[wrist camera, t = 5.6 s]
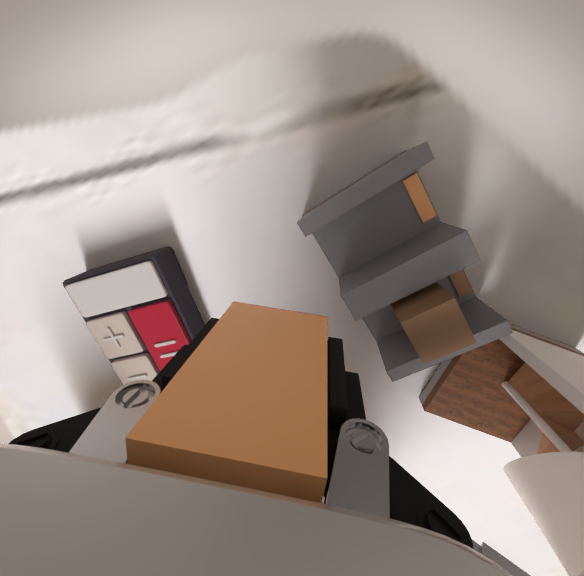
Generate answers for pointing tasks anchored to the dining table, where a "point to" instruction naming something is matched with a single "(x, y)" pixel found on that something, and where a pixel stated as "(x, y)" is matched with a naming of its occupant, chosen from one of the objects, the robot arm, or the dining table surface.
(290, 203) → the dining table surface
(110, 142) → the dining table surface
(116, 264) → the calculator
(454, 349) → the walnut plug
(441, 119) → the dining table surface
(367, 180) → the grey slotted rack
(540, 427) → the banded white column
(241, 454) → the tan tall block
